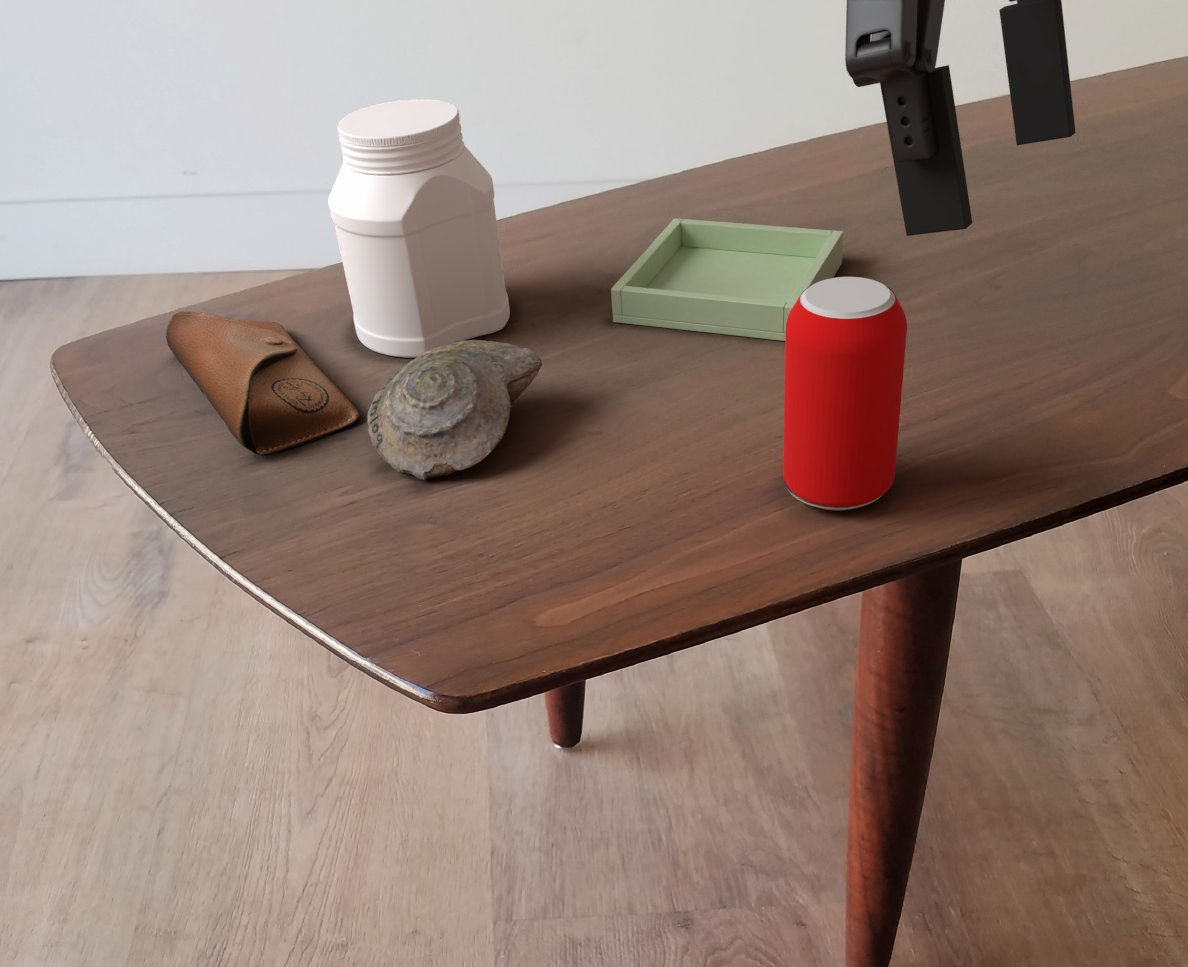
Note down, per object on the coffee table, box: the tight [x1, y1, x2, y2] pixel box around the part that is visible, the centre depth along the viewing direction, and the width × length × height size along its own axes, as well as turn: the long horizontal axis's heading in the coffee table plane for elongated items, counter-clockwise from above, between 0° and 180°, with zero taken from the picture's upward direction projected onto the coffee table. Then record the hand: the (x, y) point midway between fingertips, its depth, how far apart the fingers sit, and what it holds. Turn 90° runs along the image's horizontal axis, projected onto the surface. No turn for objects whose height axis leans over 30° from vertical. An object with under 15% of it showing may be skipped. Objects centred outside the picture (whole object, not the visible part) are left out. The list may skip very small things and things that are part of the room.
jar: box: [327, 98, 511, 359], centre depth 87 cm, size 12×10×15 cm
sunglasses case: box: [165, 310, 361, 457], centre depth 84 cm, size 18×7×7 cm
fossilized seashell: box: [367, 339, 543, 481], centre depth 77 cm, size 11×11×7 cm
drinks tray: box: [610, 217, 844, 342], centre depth 91 cm, size 14×14×3 cm
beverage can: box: [782, 276, 908, 512], centre depth 66 cm, size 6×6×12 cm
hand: (996, 182), depth 57 cm, fingers open, 13 cm apart
